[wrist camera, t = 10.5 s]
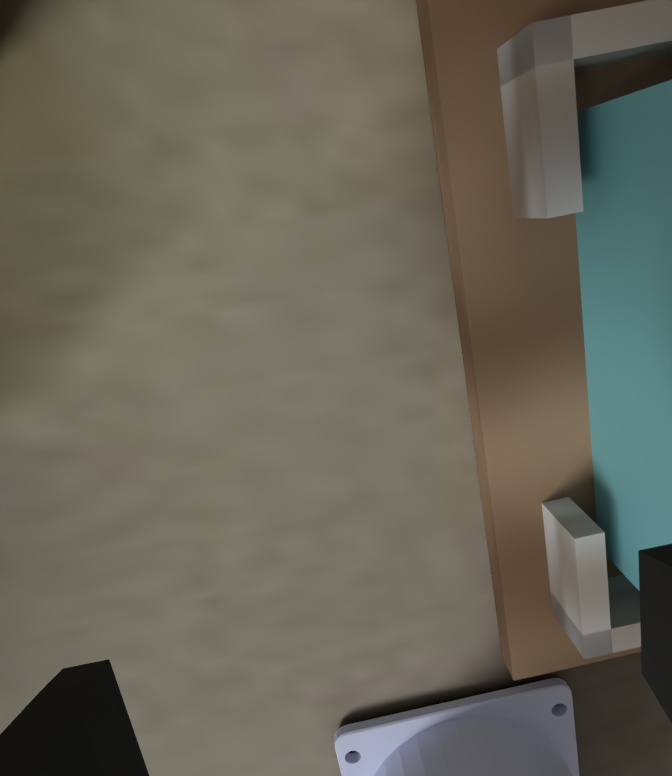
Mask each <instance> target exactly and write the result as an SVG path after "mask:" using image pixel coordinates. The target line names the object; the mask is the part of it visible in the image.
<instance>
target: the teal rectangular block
mask: <svg viewBox="0 0 672 776" xmlns="http://www.w3.org/2000/svg"><path fill="white" fill-rule="evenodd" d="M577 119H578V135H579V150H580V165H581V180H582V196H583V212H578V213H575V215H576V229H577V244H578V258H579V273H580V287H581V302H582V316H583V331H584V346H585V360H586V375H587V389H588V404H589V418H590V433H591V447H592V462H593V476H594V491H595V505H596V520H597V525H598V526H599V527H600V528H601V529H602V530H603V531H604V532H605V546H606V557H607V558H608V559H609V560H610V561H611V562H612V563H613V564H614V565H615V566H616V567H617V568H618V569H619V570H620V571H621V572H622V573H623V574H624V575H625V577H626V578H627V579H628V580H629V581H630V582H631V583H632V584H633V585H634V586H635V587H636V588H637V589H638V590H639V555H638V550H643V549H648V548H653V547H658V546H662V545H667V544H672V80H669V81H666V82H663V83H660V84H657V85H654V86H651V87H648V88H646V89H643V90H640V91H637V92H634V93H631V94H628V95H625V96H622V97H619V98H616V99H613V100H611V101H608V102H605V103H602V104H599V105H596V106H593V107H590V108H587V109H584V110H581V111H578V112H577ZM639 591H640V590H639Z"/></svg>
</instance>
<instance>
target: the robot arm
mask: <svg viewBox="0 0 672 776" xmlns="http://www.w3.org/2000/svg"><path fill="white" fill-rule="evenodd" d="M638 555H639V590H640V625H641V660H642V674H643V676H644V677H645V679H646V681H647V682H648V684H649V686H650V687H651V689H652V691H653V692H654V694H655V696H656V697H657V699H658V701H659V702H660V704H661V706H662V707H663V709H664V711H665V712H666V714H667V716H668V717H669V719H670V720H671V722H672V544H667V545H662V546H658V547H653V548H648V549H643V550H638ZM557 704H559V705H558V706H556V707H554V706H555V705H557ZM334 743H335V750H336V754H337V758H338V762H339V766H340V770H341V775H342V776H580V775H579V764H578V753H577V743H576V732H575V721H574V710H573V699H572V692H571V689H570V688H569V686H568V684H567V683H566V682H565V681H564V680H563V679H560V678H551V679H546V680H542V681H537V682H533V683H529V684H524V685H520V686H515V687H511V688H507V689H502V690H498V691H493V692H489V693H485V694H480V695H476V696H471V697H467V698H463V699H458V700H454V701H449V702H445V703H440V704H436V705H432V706H427V707H423V708H418V709H414V710H410V711H405V712H401V713H396V714H392V715H388V716H383V717H379V718H374V719H370V720H365V721H361V722H357V723H352V724H348V725H345V726H342V727H340V728H339V729H338V730H337V731H336V733H335V735H334ZM350 751H356V752H354V753H348V752H350ZM0 776H149V774H148V771H147V768H146V765H145V762H144V759H143V757H142V754H141V751H140V748H139V745H138V742H137V739H136V736H135V733H134V730H133V728H132V725H131V722H130V719H129V716H128V713H127V710H126V707H125V704H124V701H123V698H122V696H121V693H120V690H119V687H118V684H117V681H116V678H115V675H114V672H113V669H112V667H111V664H110V661H109V660H104V661H99V662H94V663H89V664H84V665H79V666H75V667H70V668H65V669H62V670H61V671H60V672H59V673H58V674H57V675H56V676H55V677H54V678H53V679H52V680H51V681H50V682H49V683H48V684H47V685H46V686H45V687H44V688H43V689H42V690H41V691H40V692H39V694H38V695H37V696H36V697H35V698H34V699H33V700H32V701H31V702H30V703H29V704H28V705H27V706H26V707H25V708H24V710H23V711H22V712H21V713H20V714H19V715H18V716H17V717H16V718H15V719H14V720H13V721H12V723H11V724H10V725H9V726H8V727H7V728H6V729H5V730H4V731H3V732H2V733H1V735H0Z"/></svg>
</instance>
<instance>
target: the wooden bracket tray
mask: <svg viewBox="0 0 672 776" xmlns="http://www.w3.org/2000/svg"><path fill="white" fill-rule="evenodd" d="M416 4H417V12H418V19H419V27H420V35H421V42H422V50H423V57H424V65H425V73H426V80H427V88H428V95H429V103H430V111H431V118H432V126H433V133H434V141H435V149H436V156H437V164H438V171H439V179H440V187H441V194H442V202H443V209H444V217H445V225H446V232H447V240H448V247H449V255H450V263H451V270H452V278H453V285H454V293H455V301H456V308H457V316H458V323H459V331H460V339H461V346H462V354H463V362H464V369H465V377H466V384H467V392H468V400H469V407H470V415H471V422H472V430H473V438H474V445H475V453H476V460H477V468H478V476H479V483H480V491H481V498H482V506H483V514H484V521H485V529H486V536H487V544H488V552H489V559H490V567H491V574H492V582H493V590H494V597H495V605H496V612H497V620H498V628H499V635H500V643H501V650H502V658H503V660H504V662H505V664H506V666H507V668H508V670H509V672H510V674H511V676H512V678H513V680H514V681H515V680H520V679H524V678H529V677H533V676H538V675H542V674H546V673H551V672H555V671H560V670H564V669H569V668H573V667H577V666H582V665H586V664H591V663H595V662H599V661H604V660H608V659H613V658H617V657H622V656H626V655H630V654H635V653H639V652H641V625H640V591H639V590H638V589H637V588H636V587H635V586H634V585H633V584H632V583H631V582H630V581H629V580H628V579H627V578H626V577H625V575H624V574H623V573H622V572H621V571H620V570H619V569H618V568H617V567H616V566H615V565H614V564H613V563H612V562H611V561H610V560H609V559H608V558H607V557H606V546H605V532H604V531H603V530H602V529H601V528H600V527H599V526H598V525H597V520H596V505H595V491H594V476H593V462H592V447H591V433H590V418H589V404H588V389H587V375H586V360H585V346H584V331H583V316H582V302H581V287H580V273H579V258H578V244H577V229H576V215H575V213H578V212H583V196H582V180H581V165H580V150H579V135H578V119H577V112H578V111H581V110H584V109H587V108H590V107H593V106H596V105H599V104H602V103H605V102H608V101H611V100H613V99H616V98H619V97H622V96H625V95H628V94H631V93H634V92H637V91H640V90H643V89H646V88H648V87H651V86H654V85H657V84H660V83H663V82H666V81H669V80H672V0H416Z"/></svg>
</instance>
